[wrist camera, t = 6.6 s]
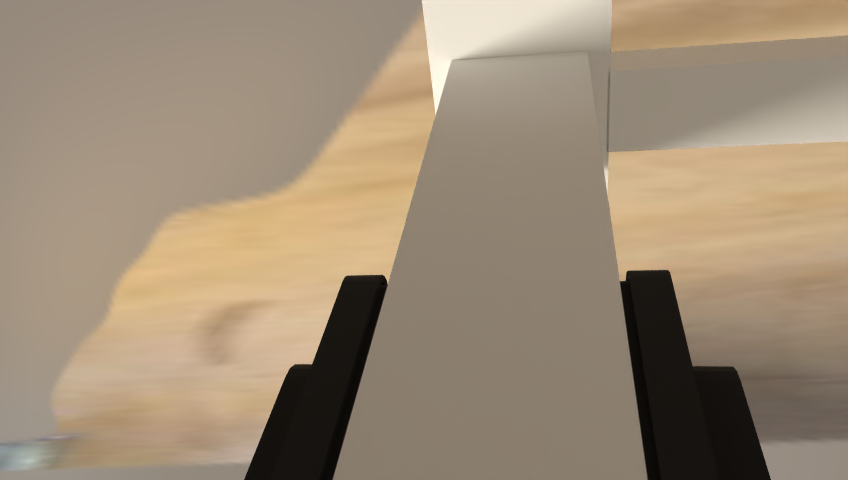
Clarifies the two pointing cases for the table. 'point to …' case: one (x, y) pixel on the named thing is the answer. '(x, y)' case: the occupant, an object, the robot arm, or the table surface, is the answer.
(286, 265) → the table surface
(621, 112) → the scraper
